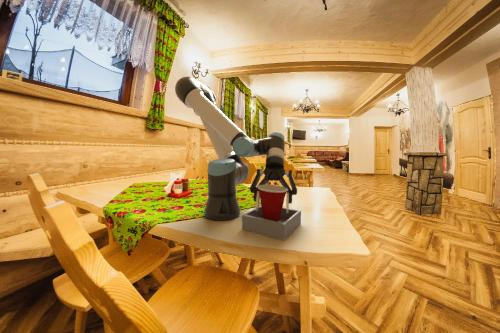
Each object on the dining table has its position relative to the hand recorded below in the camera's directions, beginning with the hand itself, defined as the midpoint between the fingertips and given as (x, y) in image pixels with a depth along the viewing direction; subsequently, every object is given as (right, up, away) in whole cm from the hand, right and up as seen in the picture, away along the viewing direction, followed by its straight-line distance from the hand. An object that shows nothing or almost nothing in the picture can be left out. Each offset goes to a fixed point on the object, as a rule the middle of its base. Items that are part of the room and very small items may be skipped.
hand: (271, 210), depth 63 cm
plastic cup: (+1, -4, +3) cm, 6 cm away
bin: (+1, -7, +3) cm, 8 cm away
